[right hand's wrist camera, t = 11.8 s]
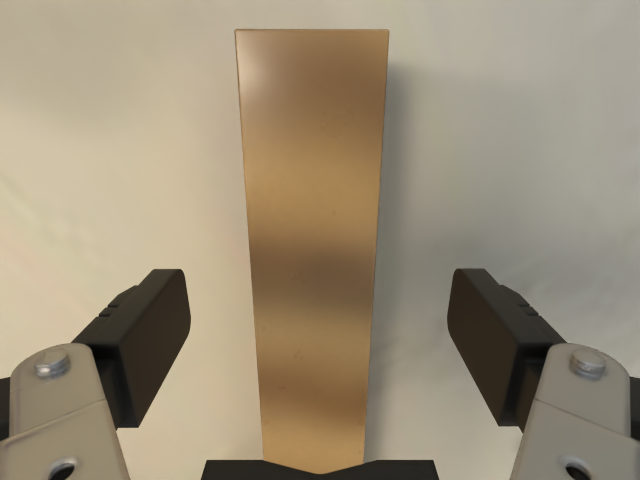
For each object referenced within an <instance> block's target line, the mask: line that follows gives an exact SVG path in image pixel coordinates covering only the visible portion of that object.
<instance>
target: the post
mask: <svg viewBox="0 0 640 480" xmlns="http://www.w3.org/2000/svg"><path fill="white" fill-rule="evenodd" d="M235 45H236V59H237V74H238V89H239V103H240V118H241V133H242V147H243V162H244V177H245V191H246V206H247V221H248V235H249V250H250V265H251V279H252V294H253V308H254V323H255V338H256V352H257V367H258V382H259V396H260V411H261V426H262V440H263V455H264V461H268V462H272V463H276V464H280V465H284V466H287V467H291V468H295V469H299V470H303V471H307V472H311V473H315V474H325V473H329V472H333V471H337V470H341V469H345V468H349V467H353V466H356V465H360V464H363V460H364V444H365V427H366V411H367V394H368V377H369V361H370V344H371V328H372V311H373V295H374V278H375V261H376V245H377V228H378V212H379V195H380V179H381V162H382V145H383V129H384V112H385V96H386V79H387V63H388V46H389V30H387V29H236V30H235Z"/></svg>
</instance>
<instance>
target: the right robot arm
mask: <svg viewBox="0 0 640 480" xmlns="http://www.w3.org/2000/svg"><path fill="white" fill-rule="evenodd" d="M447 323H448V330H449V333H450V336H451V338H452V340H453V342H454V343H455V345H456V347H457V349H458V351H459V353H460V355H461V357H462V358H463V360H464V362H465V364H466V366H467V368H468V370H469V372H470V373H471V375H472V377H473V379H474V381H475V383H476V385H477V387H478V388H479V390H480V392H481V394H482V396H483V398H484V400H485V402H486V403H487V405H488V407H489V409H490V411H491V413H492V415H493V417H494V418H495V420H496V422H497V424H498V426H519V428H520V429H521V431H522V433H523V436H522V440H521V443H520V446H519V450H518V453H517V457H516V460H515V463H514V467H513V470H512V473H511V477H510V480H640V378H635V377H630V376H629V374H628V372H627V371H626V369H625V368H624V367H623V366H622V365H621V364H620V363H619V362H617V361H616V360H615V359H613V358H612V357H610V356H608V355H607V354H605V353H603V352H601V351H598V350H596V349H593V348H590V347H587V346H584V345H579V344H572V343H567V342H566V341H565V340H564V339H563V338H562V337H561V336H560V335H559V334H558V333H557V332H556V331H555V330H554V329H553V328H552V327H551V326H550V325H549V324H548V323H547V322H546V321H545V320H544V319H543V318H542V317H541V316H539V315H538V313H537V312H536V311H535V310H534V309H533V308H532V307H530V305H529V303H528V302H527V301H526V300H525V299H524V298H523V297H522V296H521V295H520V294H518V293H517V292H515V291H513V290H511V289H509V288H508V287H506V286H504V285H499V284H498V283H497V282H496V281H495V280H494V279H493V277H492V276H491V275H490V274H489V273H488V272H487V271H486V270H485V269H456V270H455V272H454V275H453V281H452V287H451V294H450V301H449V308H448V315H447ZM190 325H191V315H190V308H189V301H188V295H187V288H186V281H185V276H184V273H183V271H182V270H181V269H154V270H152V271H151V272H150V273H149V274H148V276H147V277H146V278H145V279H144V280H143V281H142V282H141V283H140V284H139V285H138V286H133V287H131V288H129V289H128V290H126V291H124V292H122V293H120V294H119V295H118V296H117V297H116V298H115V299H114V300H113V301H112V302H111V303H110V304H109V305H108V308H105V309H104V310H103V311H102V312H101V313H100V314H99V317H96V318H95V319H94V320H93V321H92V322H91V323H90V324H89V325H88V326H87V327H86V328H85V329H84V330H83V331H82V332H81V333H80V334H79V335H78V336H77V337H76V338H75V339H74V340H73V341H72V342H71V343H67V344H61V345H56V346H53V347H50V348H47V349H44V350H42V351H39V352H37V353H35V354H33V355H32V356H30V357H28V358H27V359H25V360H24V361H23V362H21V363H20V364H19V365H18V366H17V367H16V368H15V369H14V371H13V372H12V374H11V377H8V378H3V379H0V480H130V477H129V473H128V470H127V467H126V463H125V460H124V457H123V453H122V450H121V447H120V443H119V440H118V436H117V433H116V430H117V429H118V428H138V427H139V426H140V424H141V422H142V420H143V418H144V416H145V414H146V413H147V411H148V409H149V407H150V405H151V403H152V401H153V400H154V398H155V396H156V394H157V392H158V390H159V389H160V387H161V385H162V383H163V381H164V379H165V377H166V376H167V374H168V372H169V370H170V368H171V366H172V364H173V363H174V361H175V359H176V357H177V355H178V353H179V351H180V350H181V348H182V346H183V344H184V342H185V340H186V339H187V337H188V334H189V331H190ZM201 480H439V477H438V474H437V471H436V468H435V464H434V461H433V460H376V461H372V462H368V463H364V464H360V465H356V466H353V467H349V468H345V469H341V470H337V471H333V472H329V473H325V474H315V473H311V472H307V471H303V470H299V469H295V468H291V467H287V466H284V465H280V464H276V463H272V462H268V461H264V460H207V461H206V464H205V468H204V471H203V474H202V477H201Z"/></svg>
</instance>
